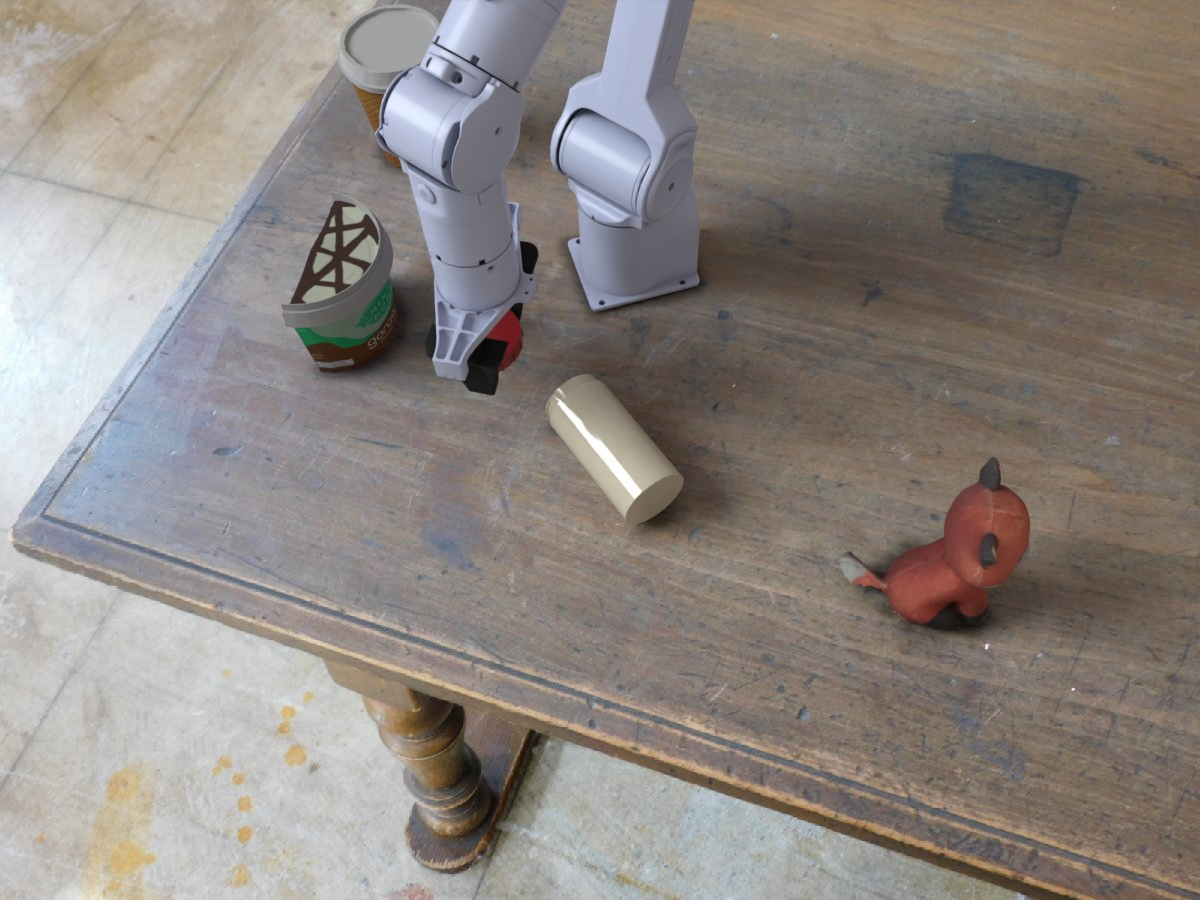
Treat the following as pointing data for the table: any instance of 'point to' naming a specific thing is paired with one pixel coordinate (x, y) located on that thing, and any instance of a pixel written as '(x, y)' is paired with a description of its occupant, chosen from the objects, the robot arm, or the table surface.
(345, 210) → the food container
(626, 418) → the jar
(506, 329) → the lid
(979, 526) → the stuffed fox
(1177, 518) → the table surface
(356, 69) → the disposable coffee cup
